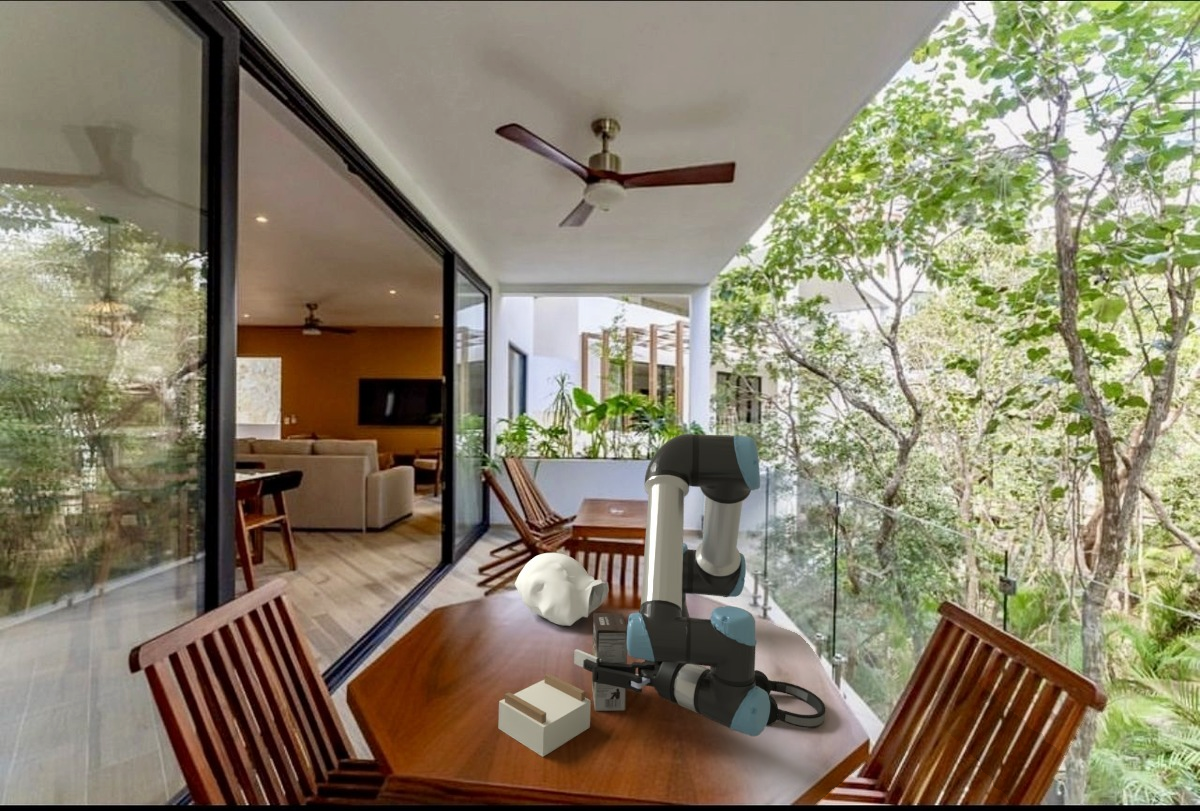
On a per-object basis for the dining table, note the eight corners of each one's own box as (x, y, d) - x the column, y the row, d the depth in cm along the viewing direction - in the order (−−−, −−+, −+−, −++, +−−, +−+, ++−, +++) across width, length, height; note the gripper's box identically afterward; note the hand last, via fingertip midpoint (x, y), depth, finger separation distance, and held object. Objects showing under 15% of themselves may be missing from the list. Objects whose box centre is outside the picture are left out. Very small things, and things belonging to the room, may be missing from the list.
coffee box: (590, 688, 115) (592, 612, 115) (620, 687, 116) (622, 612, 116) (593, 711, 106) (596, 629, 106) (626, 711, 107) (628, 629, 107)
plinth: (545, 703, 109) (546, 670, 109) (589, 727, 101) (590, 692, 101) (498, 728, 100) (499, 693, 100) (542, 757, 92) (543, 718, 92)
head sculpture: (569, 656, 143) (500, 613, 156) (609, 614, 159) (543, 579, 171) (573, 604, 137) (501, 564, 149) (614, 565, 153) (546, 532, 165)
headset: (727, 643, 117) (820, 662, 114) (721, 685, 117) (814, 705, 114) (733, 671, 104) (837, 694, 101) (726, 719, 104) (830, 742, 101)
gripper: (645, 731, 90) (554, 685, 105) (715, 680, 108) (629, 647, 123) (646, 686, 90) (555, 646, 105) (715, 642, 108) (630, 614, 123)
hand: (595, 646), depth 114 cm, fingers open, 11 cm apart
